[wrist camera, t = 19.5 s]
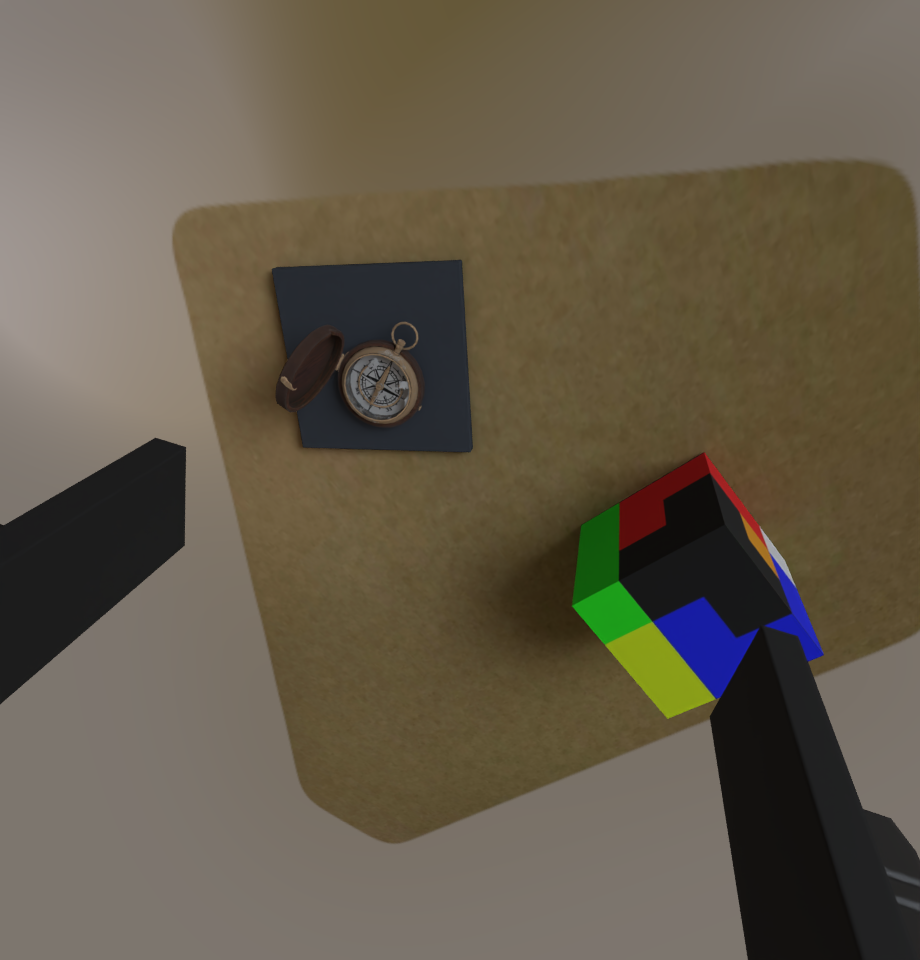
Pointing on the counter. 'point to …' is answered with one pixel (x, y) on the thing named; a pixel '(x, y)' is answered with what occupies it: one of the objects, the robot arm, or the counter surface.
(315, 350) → the compass
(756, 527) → the puzzle toy
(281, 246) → the counter surface
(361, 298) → the mat
